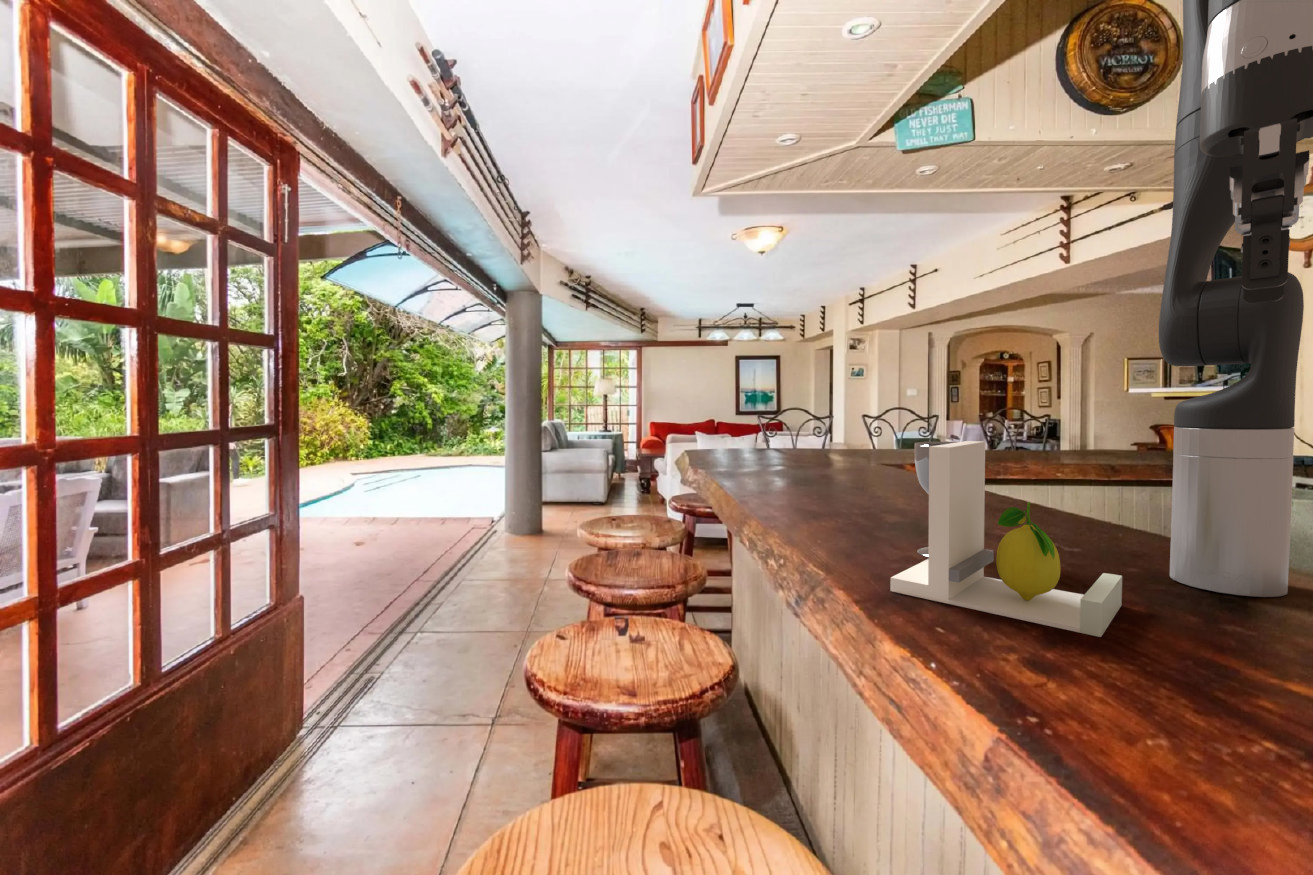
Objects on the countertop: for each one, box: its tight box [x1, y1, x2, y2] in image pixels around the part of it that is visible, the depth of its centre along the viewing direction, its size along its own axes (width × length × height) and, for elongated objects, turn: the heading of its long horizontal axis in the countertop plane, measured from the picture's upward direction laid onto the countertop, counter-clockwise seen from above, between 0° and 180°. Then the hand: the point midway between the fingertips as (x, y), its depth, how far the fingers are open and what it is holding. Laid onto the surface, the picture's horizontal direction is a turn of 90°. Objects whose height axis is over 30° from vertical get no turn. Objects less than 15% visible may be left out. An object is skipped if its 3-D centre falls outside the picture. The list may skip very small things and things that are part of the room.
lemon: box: [995, 501, 1061, 600], centre depth 59 cm, size 7×6×10 cm
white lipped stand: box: [889, 440, 1123, 638], centre depth 60 cm, size 11×18×16 cm, turn 44°
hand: (1263, 295), depth 43 cm, fingers open, 8 cm apart
